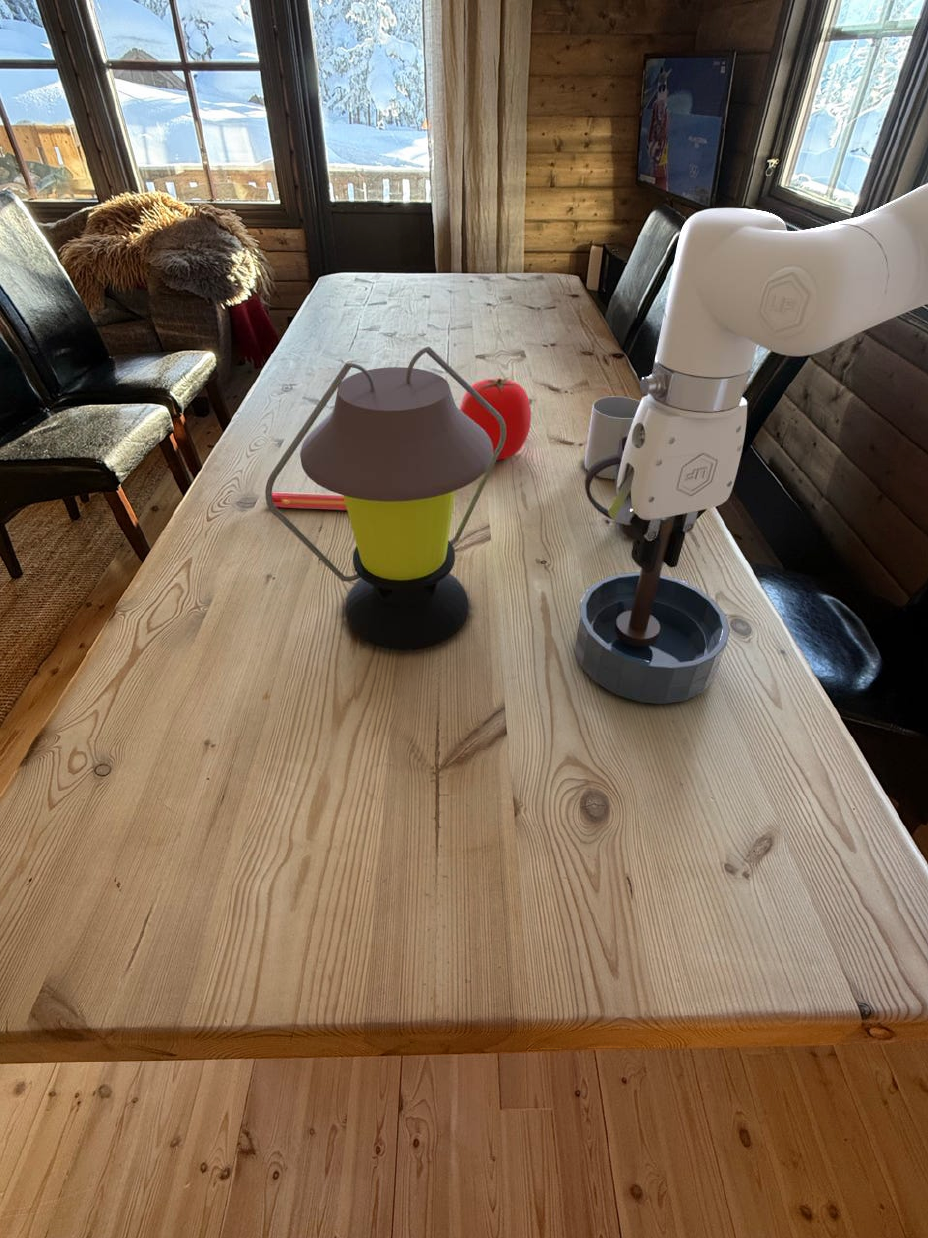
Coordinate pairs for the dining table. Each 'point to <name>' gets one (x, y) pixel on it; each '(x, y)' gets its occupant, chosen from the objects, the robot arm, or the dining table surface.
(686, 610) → the bowl
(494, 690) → the dining table surface
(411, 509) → the lantern
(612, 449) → the cup
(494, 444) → the tomato
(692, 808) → the dining table surface
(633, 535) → the mug
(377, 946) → the dining table surface
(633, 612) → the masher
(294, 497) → the red bar
